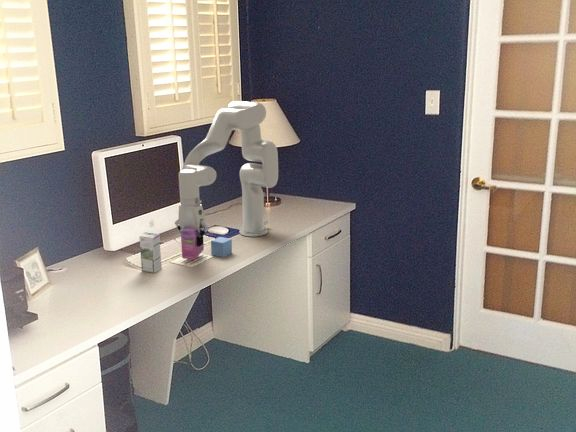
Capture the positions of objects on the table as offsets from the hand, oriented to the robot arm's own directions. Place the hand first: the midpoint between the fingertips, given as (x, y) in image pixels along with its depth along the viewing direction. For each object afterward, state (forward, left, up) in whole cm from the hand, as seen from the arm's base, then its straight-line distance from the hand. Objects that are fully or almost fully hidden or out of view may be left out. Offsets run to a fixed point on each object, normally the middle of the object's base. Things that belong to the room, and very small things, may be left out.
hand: (192, 243), depth 267 cm
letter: (+1, 0, -7) cm, 7 cm away
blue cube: (-11, +6, -7) cm, 14 cm away
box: (0, 0, -5) cm, 5 cm away
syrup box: (+18, -6, -7) cm, 20 cm away
